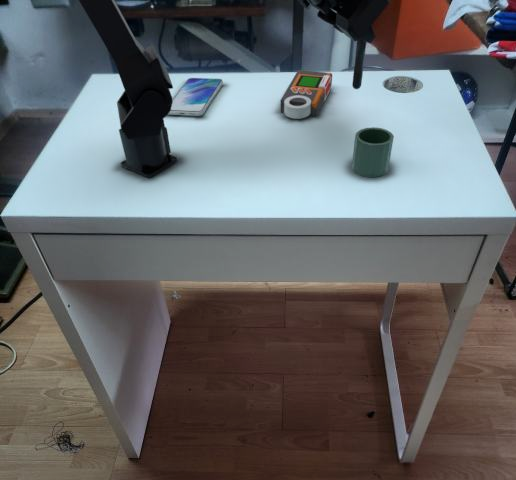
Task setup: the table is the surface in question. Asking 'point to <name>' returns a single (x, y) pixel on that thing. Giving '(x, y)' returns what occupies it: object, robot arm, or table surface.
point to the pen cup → (372, 152)
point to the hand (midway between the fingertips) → (370, 38)
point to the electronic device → (306, 94)
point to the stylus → (359, 64)
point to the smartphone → (195, 96)
